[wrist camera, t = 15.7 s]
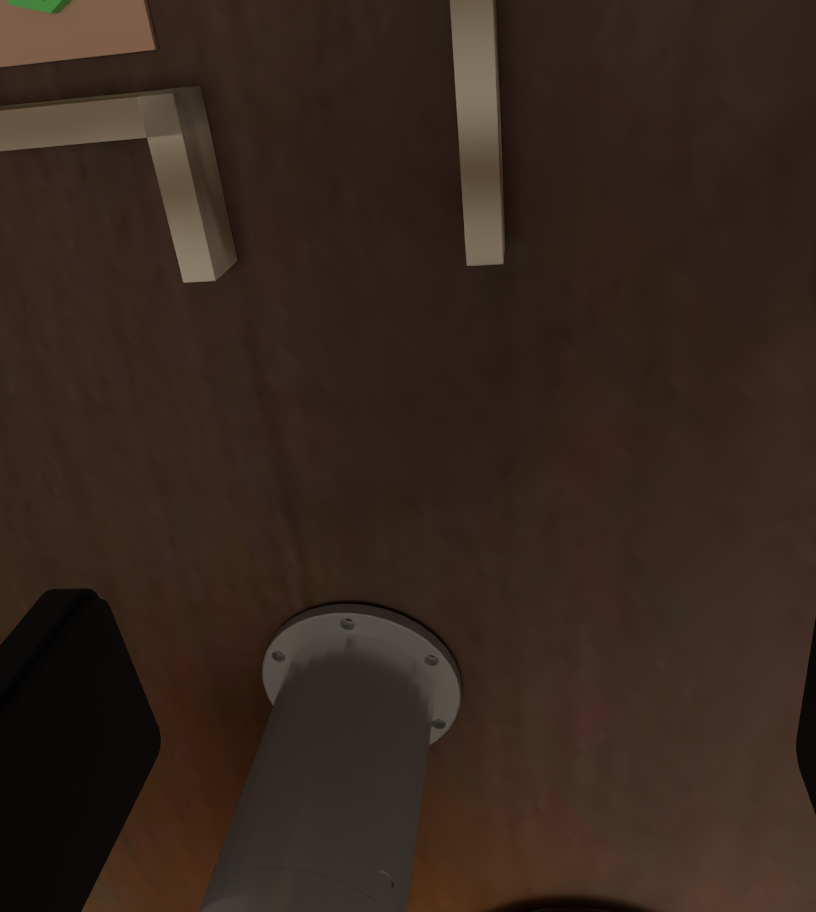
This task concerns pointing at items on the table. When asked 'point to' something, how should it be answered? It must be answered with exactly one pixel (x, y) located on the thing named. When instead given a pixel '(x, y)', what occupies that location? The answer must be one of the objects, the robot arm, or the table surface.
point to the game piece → (41, 5)
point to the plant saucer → (569, 909)
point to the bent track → (188, 134)
